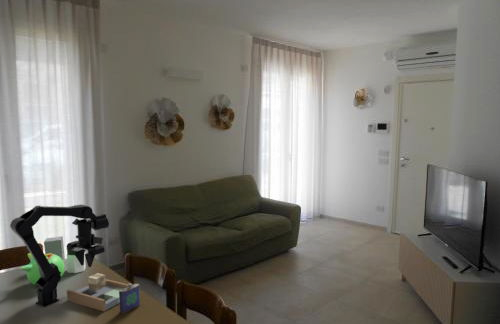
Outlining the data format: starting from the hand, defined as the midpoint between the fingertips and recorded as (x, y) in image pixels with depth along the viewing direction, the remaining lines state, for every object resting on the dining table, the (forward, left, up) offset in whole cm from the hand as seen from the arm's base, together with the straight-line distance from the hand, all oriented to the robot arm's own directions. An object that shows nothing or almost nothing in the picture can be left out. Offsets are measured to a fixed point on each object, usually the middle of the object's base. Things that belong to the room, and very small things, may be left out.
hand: (86, 266), depth 169 cm
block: (0, -7, -8) cm, 11 cm away
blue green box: (-5, -31, -11) cm, 34 cm away
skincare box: (+12, +38, -11) cm, 42 cm away
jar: (+14, +24, -11) cm, 30 cm away
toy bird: (-4, +23, -11) cm, 26 cm away
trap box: (-3, -13, -11) cm, 17 cm away
